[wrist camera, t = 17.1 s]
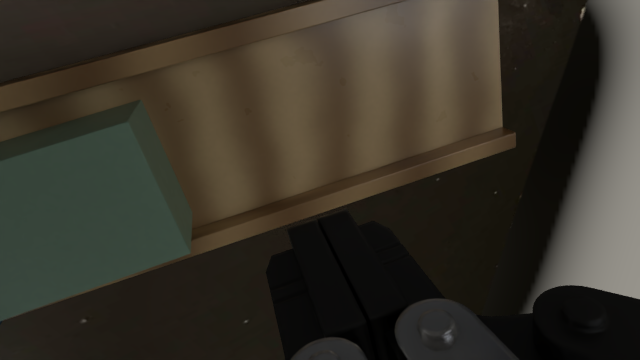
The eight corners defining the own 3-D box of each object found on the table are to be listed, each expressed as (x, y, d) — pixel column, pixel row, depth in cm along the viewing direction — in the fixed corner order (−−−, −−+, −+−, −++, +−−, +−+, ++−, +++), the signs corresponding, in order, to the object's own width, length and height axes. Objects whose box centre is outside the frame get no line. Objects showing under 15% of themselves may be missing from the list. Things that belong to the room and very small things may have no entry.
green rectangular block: (23, 271, 27) (-13, 326, 22) (-58, 159, 23) (-120, 197, 19) (192, 213, 28) (191, 253, 23) (141, 98, 24) (127, 121, 20)
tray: (21, 291, 29) (2, 321, 26) (-107, 111, 23) (-148, 126, 20) (491, 135, 33) (516, 147, 31) (482, -46, 28) (512, -51, 25)
